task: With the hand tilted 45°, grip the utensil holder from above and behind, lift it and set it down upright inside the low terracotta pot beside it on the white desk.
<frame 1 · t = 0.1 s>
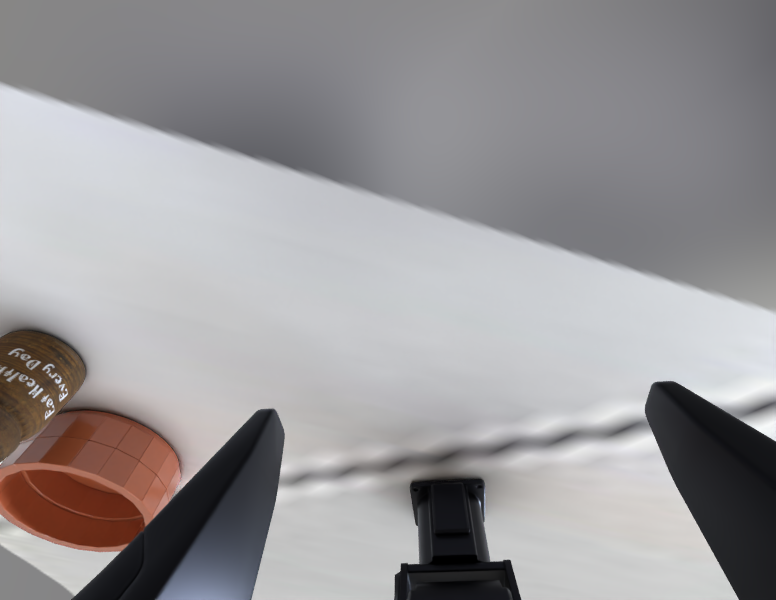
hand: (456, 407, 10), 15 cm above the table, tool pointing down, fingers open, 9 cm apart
utensil holder: (46, 356, 29), on the table
pot: (112, 455, 35), on the table
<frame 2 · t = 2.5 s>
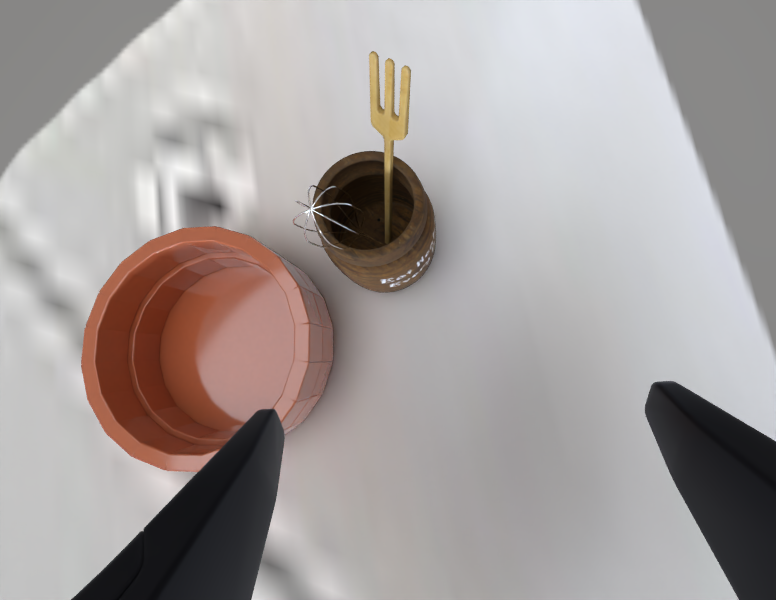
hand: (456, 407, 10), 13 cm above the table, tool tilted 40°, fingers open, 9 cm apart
utensil holder: (388, 245, 25), on the table
pot: (240, 346, 25), on the table
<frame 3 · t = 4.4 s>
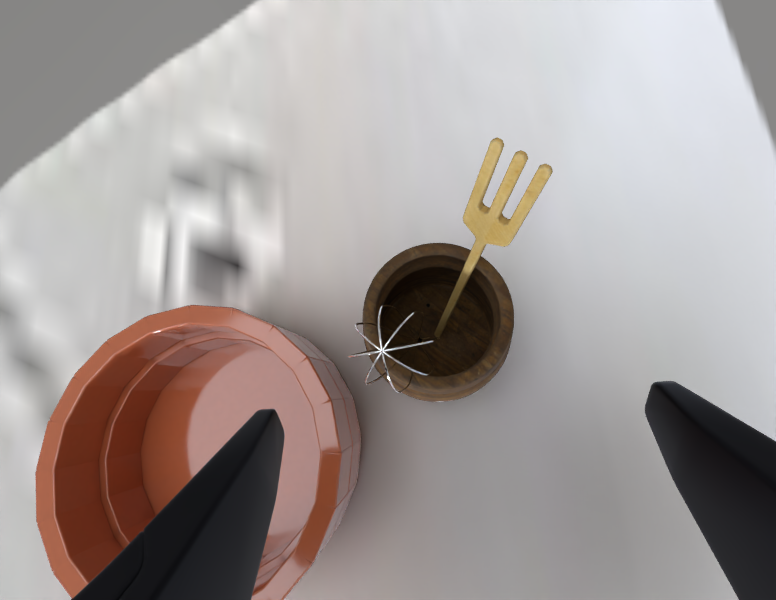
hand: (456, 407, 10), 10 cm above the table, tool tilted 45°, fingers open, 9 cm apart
utensil holder: (436, 337, 20), on the table
pot: (243, 444, 20), on the table
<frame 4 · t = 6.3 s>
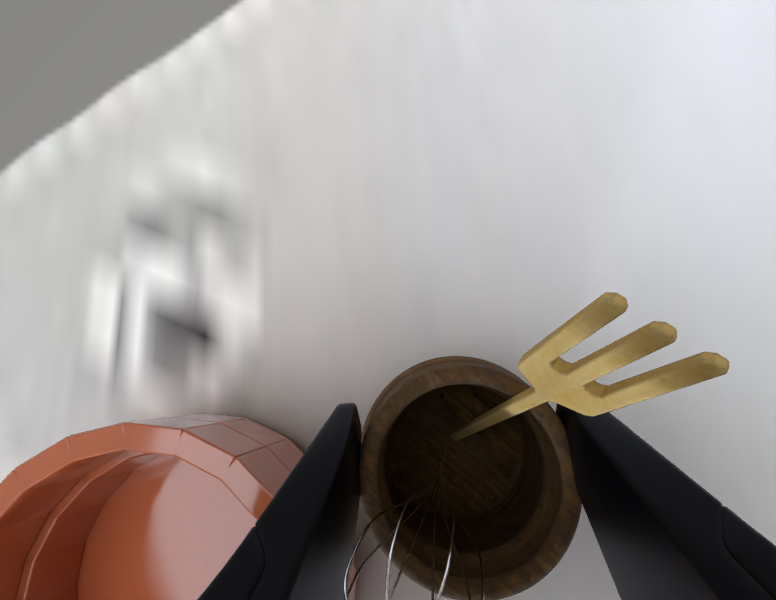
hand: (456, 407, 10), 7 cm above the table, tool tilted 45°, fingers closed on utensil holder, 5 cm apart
utensil holder: (452, 435, 16), on the table, touching gripper
pot: (207, 572, 16), on the table
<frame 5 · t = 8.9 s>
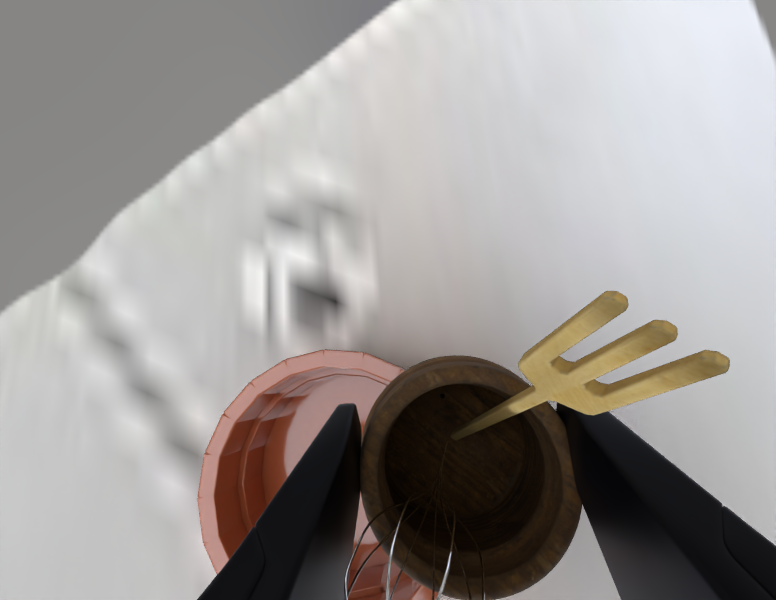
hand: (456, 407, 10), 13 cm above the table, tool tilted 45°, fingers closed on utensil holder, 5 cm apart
utensil holder: (452, 435, 16), point 6 cm above the table, touching gripper
pot: (352, 465, 22), on the table
when the fingers open (7 cm above the table, at t = 11.8 s): utensil holder stays where it is, resting on pot.
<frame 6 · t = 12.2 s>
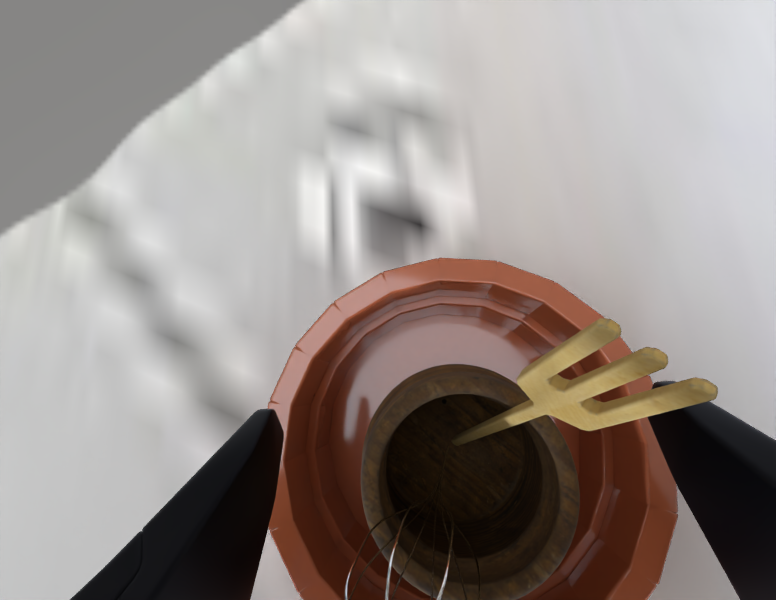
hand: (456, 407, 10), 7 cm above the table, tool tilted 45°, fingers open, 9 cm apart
utensil holder: (454, 440, 16), resting on pot
pot: (450, 434, 17), on the table
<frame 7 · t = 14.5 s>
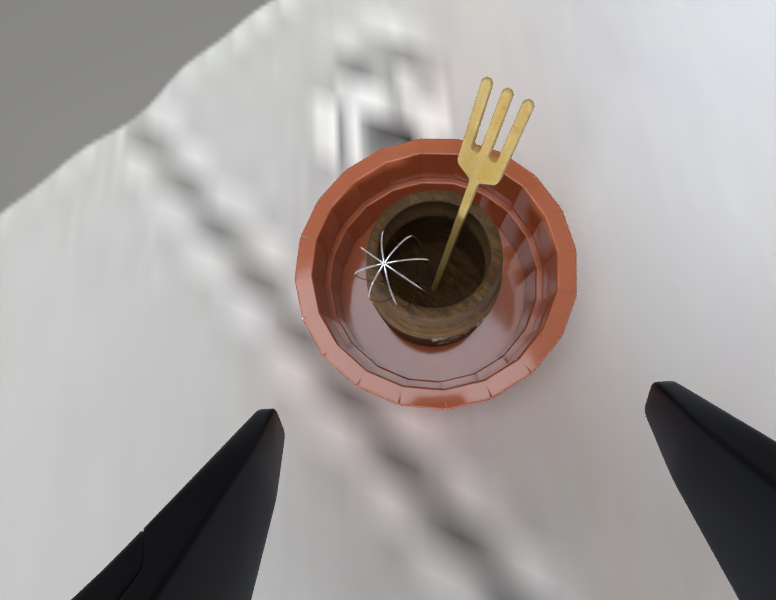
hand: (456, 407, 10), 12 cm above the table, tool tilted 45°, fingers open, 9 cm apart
utensil holder: (433, 291, 22), resting on pot
pot: (431, 290, 22), on the table
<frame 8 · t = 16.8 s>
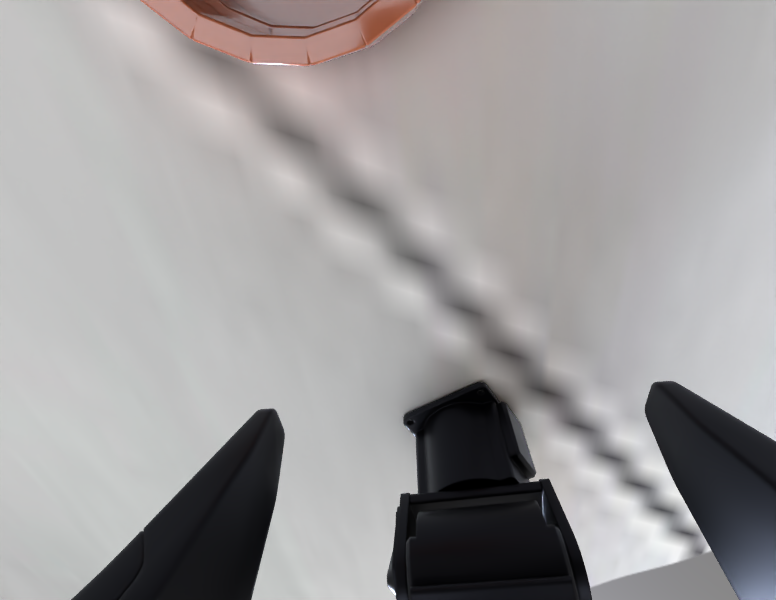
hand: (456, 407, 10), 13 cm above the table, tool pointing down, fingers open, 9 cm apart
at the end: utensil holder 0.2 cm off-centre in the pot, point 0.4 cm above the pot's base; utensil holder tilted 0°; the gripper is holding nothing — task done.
